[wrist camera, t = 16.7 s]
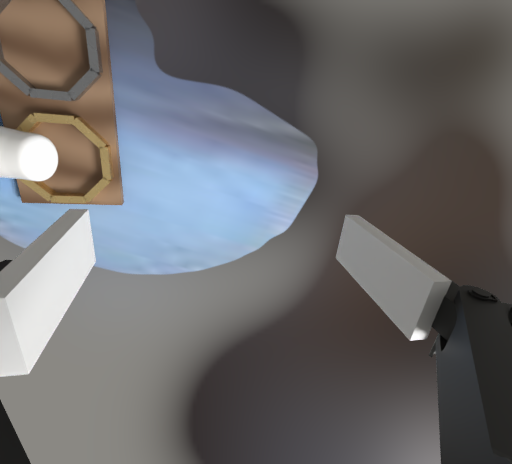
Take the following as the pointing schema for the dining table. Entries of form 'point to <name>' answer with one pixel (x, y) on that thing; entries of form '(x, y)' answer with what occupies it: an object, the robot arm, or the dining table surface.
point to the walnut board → (61, 79)
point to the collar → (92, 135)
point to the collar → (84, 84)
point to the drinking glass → (26, 155)
